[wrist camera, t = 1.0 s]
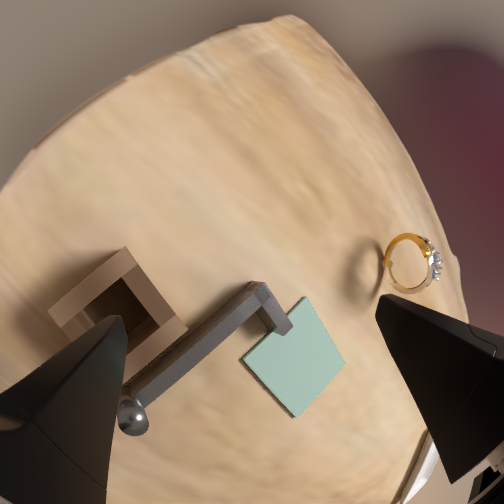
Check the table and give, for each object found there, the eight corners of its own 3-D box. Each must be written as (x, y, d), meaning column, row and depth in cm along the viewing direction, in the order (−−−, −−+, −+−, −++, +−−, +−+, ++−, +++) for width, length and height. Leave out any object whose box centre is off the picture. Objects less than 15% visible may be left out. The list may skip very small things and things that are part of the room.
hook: (154, 433, 17) (165, 462, 14) (109, 395, 16) (111, 422, 13) (279, 321, 23) (309, 331, 20) (249, 276, 22) (277, 280, 19)
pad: (295, 417, 24) (297, 418, 24) (241, 358, 22) (243, 359, 21) (343, 362, 27) (345, 363, 27) (304, 296, 25) (306, 296, 24)
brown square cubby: (113, 366, 17) (115, 390, 13) (59, 300, 15) (47, 311, 11) (173, 316, 19) (188, 329, 15) (123, 248, 17) (125, 245, 14)
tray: (451, 399, 51) (461, 401, 48) (420, 477, 50) (428, 480, 47) (426, 424, 43) (437, 428, 40) (390, 505, 42) (399, 509, 39)
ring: (389, 291, 32) (444, 295, 25) (375, 292, 30) (433, 297, 23) (390, 236, 32) (445, 232, 25) (376, 234, 30) (435, 229, 23)
